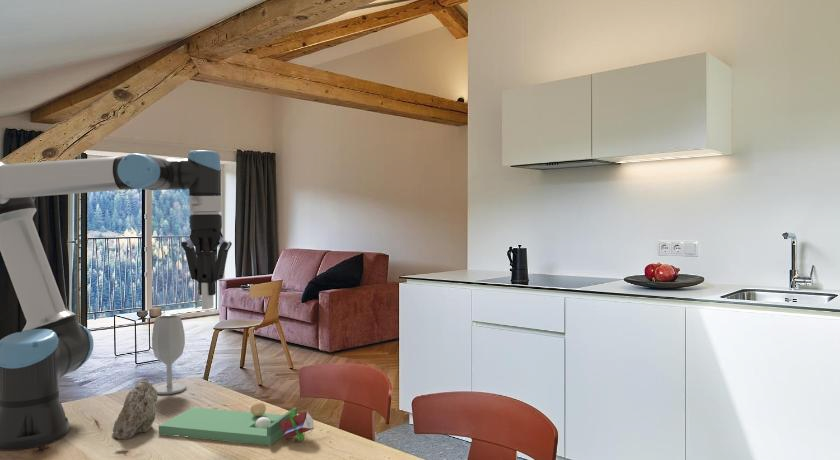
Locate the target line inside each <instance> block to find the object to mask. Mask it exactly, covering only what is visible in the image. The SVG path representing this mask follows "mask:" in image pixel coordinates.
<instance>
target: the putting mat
mask: <svg viewBox="0 0 840 460" xmlns="http://www.w3.org/2000/svg"><path fill="white" fill-rule="evenodd" d="M293 408H294V409H293ZM293 408H291V409H290V410H288V411H287V412H285V413H284V414H274V413H273V414H272V413H264V414H263V415H262V416H259V417H257V416H254V415H253V414H252V413H251V411H250V412H249V411H239V410H227V409H216V408H207V407H206V408H205V407H204V408H203V407H191V408H189V409H187V410H185V411H184V412H182V413H180V414H179V415H176V416H175V417H173V418H170V419H169V420H167V421H164V422H163V423H161V424H159V425H158V435H161V434H165V435H164V436H171V435H179V436H178V437H181V436H188V437H187V438H191V437H195V438H194V439H201V438H206V439H205V440H211V439H214V441H221V440H222V441H223V442H232V443H242V444H243V443H244V444H253V445H262V446H272V445H273V444H275V442H277V441H278V440H280V439H281V438H282V437H283V436H284V433H283V431H282V428H281V426H280V423H279V422H281V421H283V420H286V419H289V418H290V417H289V416H287V415H288V414H289V413H290V412H291V410H292V409H293V410H294V412H295V413H296V414H295V415H298V408H297V407H293ZM296 410H297V411H296ZM286 416H287V417H286ZM261 417H266V418H268V419H269V420H270V422H271V424H270V425H269V426H267V429H265V428H256V427H255V424H256V421H257V420H258V419H259V418H261ZM282 419H283V420H282Z"/></svg>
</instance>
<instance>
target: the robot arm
mask: <svg viewBox="0 0 840 460" xmlns="http://www.w3.org/2000/svg"><path fill="white" fill-rule="evenodd" d="M221 166H222V165H221V156H220V154H219V152H218V151H214V150H204V149H203V150H202V149H201V150H200V149H199V150H190V151H188V155H187V158H181V159H179V158H177V159H175V158H161V157H156V156H152V155H149V154H145V153H130V154H127V155H122V156H109V157H108V156H107V157H93V158H79V159H65V160H64V159H63V160H62V159H61V160H51V161H50V160H49V161H37V162H36V161H35V162H34V161H33V162H22V163H9V162H2V161H0V253H1V256H2V259H3V261H4V265H5V267H6V270H7V273H8V275H9V278H10V280H11V283H12V286H13V288H14V291H15V294H16V297H17V299H18V302H19V304H20V307H21V310H22V312H23V316H24V318H25V321H26V322H25V323H26V324H25V326H24V327H23V329H22V331H18V332H14V333H11V334H8V335H7V336H4V337H3V338H1V339H0V451H1V450H2V451H16V450H25V449H30V448H32V449H33V448H37V447H41V446H44V445H47V444H51V443H53V442H56V441H58V440H61V439H62V438H64V437H65V436H66V435H68V434H69V432H70V425H69V424H70V422H69V419H68V418H67V416H66V413H65V409H64V407H63V405H62V403H61V401H60V385H59V384H60V382H59V381H60V380H59V379H61V378H62V377H64V376H65V375H67V374H70V373H72V372H75V371H77V370H78V369H80V368H81V367H82V366H83V365H84V364H86V362H87V361H88V360H89V359H90V357H91V355H92V353H93V350H94V338H93V335H92V333H91V331H90V330H89V329H88V327H87V326H84V325H82V324H81V323H79V321H78V318H77V315H76V313H75V312H73V311H70V310H69V309H67V308H66V306H65V304H64V300H63V298H62V295H61V293H60V290H59V287H58V285H57V282H56V279H55V276H54V274H53V271H52V268H51V265H50V262H49V260H48V257H47V254H46V252H45V250H44V246H43V243H42V242H41V241H42V240H41V238H40V236H39V233H38V230H37V228H36V225H35V222H34V220H33V218H34V215H35V214H36V213H37V211H38V210H37V208H36V204H35V201H36V200H35V199H36V197H45V196H58V195H61V196H62V195H73V194H84V193H97V192H110V191H111V192H112V191H113V192H114V191H123V190H124V191H125V190H126V191H128V190H129V191H130V190H139V189H140V190H141V189H142V190H146V191H147V190H149V191H158V190H159V191H161V190H162V191H163V190H165V191H167V190H169V191H170V190H174V191H175V190H183V191H184V190H185V191H186V190H188V196H189V198H188V199H189V200H188V202H189V212H190V213H191V214H190V215H189V229H190V234H189V238H188V239H186V240H185V241H181V243H180V245H181V247H182V249H183V250H184V253H185V257H186V262H187V266H188V270H189V274H190V279H191V280H192V281H197V282H198V294H199V296H201V310H210V309H214V296H215V295H216V294H217V291H216V290H217V289H216V282H218V281H220V280H222V279H223V278H224V274H225V268H226V264H227V263H226V262H227V258H228V253H229V250H230V248H231V247H232V245H233V244H232V241H230V240H229V241H228V240H227V239H226V238H224V235H223V233H222V229H223V220H222V218H223V217H222V215H221V214H220V213H221V212H222V210H223V209H222V168H221ZM218 247H219V249H218Z"/></svg>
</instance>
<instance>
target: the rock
mask: <svg viewBox="0 0 840 460" xmlns="http://www.w3.org/2000/svg"><path fill="white" fill-rule="evenodd" d="M154 388H155V387H153V385H152V384H150V382H149V381H148V380H140V381H139V382H138V383H137V384H136V385H135V386H134V387H133V388H132V389H130V390H129V392H128V393H127V394H126V397H125V400H124V403H123V407H122V409H121V410H120V412H119V414H118V417H117V418H116V420H115V422H114V424H113V428H112V432H113V433H112V438H116V439H117V440H120V439H131V438H133V436H135V435H136V434H140V433H145V432H149V431H150V429H151V428H152V425H153V424H154V421H155V419H156V408H157V401H158V394H157V390H156V389H154Z"/></svg>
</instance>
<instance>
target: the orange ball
mask: <svg viewBox="0 0 840 460" xmlns="http://www.w3.org/2000/svg"><path fill="white" fill-rule="evenodd" d="M266 408H267V406H266V404H265V403H264V402H263V401H261V400H260V401H259V400H257V401H254V402H253V403H252V404H251V406H250V412H251V413H252V414H253V415H254V416H257V417H259V416H262V415H263V414H266V413H265V412H266V410H267V409H266Z"/></svg>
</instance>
